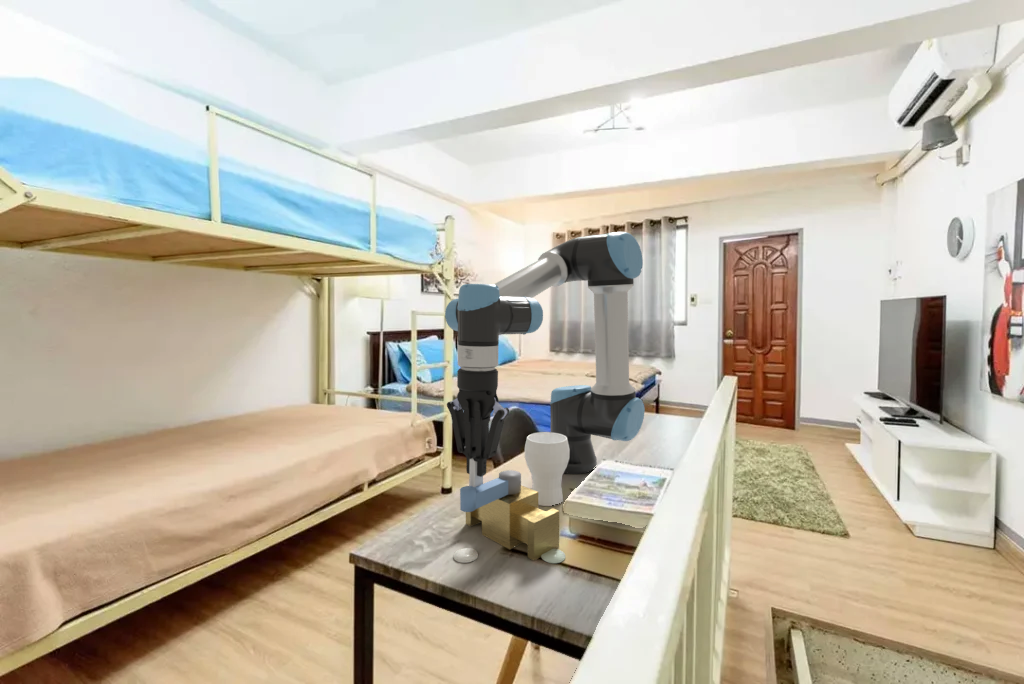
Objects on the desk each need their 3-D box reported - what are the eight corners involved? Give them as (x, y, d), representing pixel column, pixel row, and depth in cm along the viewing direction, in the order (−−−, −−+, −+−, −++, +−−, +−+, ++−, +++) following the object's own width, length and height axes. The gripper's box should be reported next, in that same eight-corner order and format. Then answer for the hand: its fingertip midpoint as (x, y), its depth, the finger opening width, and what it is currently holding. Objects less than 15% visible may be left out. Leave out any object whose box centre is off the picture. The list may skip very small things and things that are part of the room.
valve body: (463, 524, 94) (463, 483, 93) (492, 512, 99) (492, 474, 99) (532, 561, 80) (532, 514, 79) (560, 545, 85) (561, 500, 85)
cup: (567, 511, 100) (567, 445, 99) (520, 507, 102) (520, 442, 101) (570, 492, 111) (571, 432, 110) (528, 489, 113) (528, 430, 112)
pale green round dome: (551, 547, 85) (551, 546, 85) (570, 556, 82) (570, 555, 82) (536, 556, 82) (536, 554, 82) (554, 566, 78) (554, 564, 78)
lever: (509, 483, 92) (509, 466, 92) (525, 489, 89) (525, 471, 89) (454, 507, 81) (454, 488, 81) (470, 514, 78) (470, 494, 78)
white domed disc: (467, 547, 85) (467, 545, 85) (482, 556, 82) (482, 554, 82) (448, 556, 82) (448, 554, 82) (463, 565, 79) (463, 564, 79)
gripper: (437, 367, 83) (436, 490, 85) (495, 373, 76) (493, 506, 78) (462, 363, 89) (461, 477, 91) (517, 368, 83) (515, 492, 85)
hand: (476, 491), depth 85 cm, fingers closed
